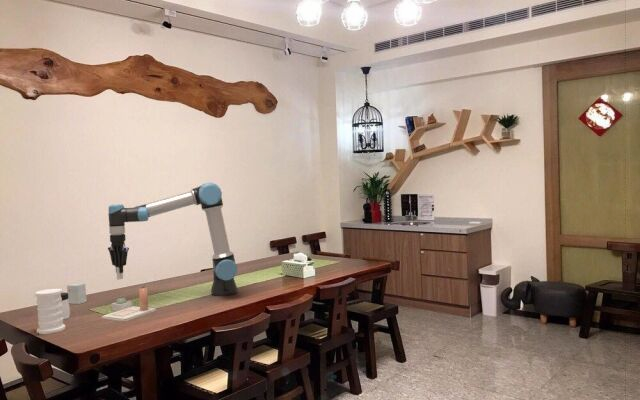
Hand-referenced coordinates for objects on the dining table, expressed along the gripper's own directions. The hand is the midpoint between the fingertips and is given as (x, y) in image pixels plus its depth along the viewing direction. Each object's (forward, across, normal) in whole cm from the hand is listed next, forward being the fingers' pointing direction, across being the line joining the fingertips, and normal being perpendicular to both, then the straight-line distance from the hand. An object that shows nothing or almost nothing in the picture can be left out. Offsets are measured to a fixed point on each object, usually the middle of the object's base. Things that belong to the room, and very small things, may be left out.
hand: (120, 278), depth 264 cm
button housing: (+16, 0, 0) cm, 16 cm away
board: (+16, -13, +7) cm, 22 cm away
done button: (+15, 0, 0) cm, 15 cm away
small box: (+16, +38, -3) cm, 41 cm away
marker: (+15, -17, +1) cm, 23 cm away
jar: (+16, +17, +23) cm, 33 cm away
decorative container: (+16, +2, +39) cm, 42 cm away
